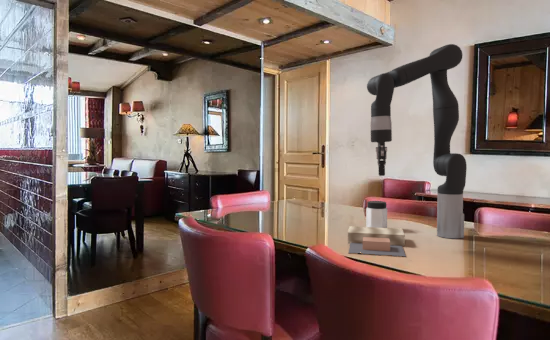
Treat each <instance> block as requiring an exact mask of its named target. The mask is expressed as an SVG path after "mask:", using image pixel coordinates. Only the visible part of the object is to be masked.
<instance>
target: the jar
mask: <svg viewBox="0 0 550 340" xmlns="http://www.w3.org/2000/svg"><path fill="white" fill-rule="evenodd" d="M366 202H367V203H366V204H367V207H366V209H365V210H366V213H365V216H366V217H365V218H366V219H365V220H366V221H365V222H366V223H365V224H366V225H365V227H377V228H388V207H387V202H386V201H385V200H384V201H383V200H368V201H366Z"/></svg>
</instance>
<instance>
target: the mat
mask: <svg viewBox="0 0 550 340" xmlns="http://www.w3.org/2000/svg"><path fill="white" fill-rule="evenodd" d="M403 247H404V246H401V245H390V251H379V250H363V243H349V248H348V254H349V253H360V252H361V253H363V254H362V255H365V254H375V255H374V256H381V255H392V256H391V257H397V256H404V257H403V258H407V256H406V253H405V250H404V248H403Z"/></svg>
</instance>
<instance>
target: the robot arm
mask: <svg viewBox="0 0 550 340" xmlns="http://www.w3.org/2000/svg"><path fill="white" fill-rule="evenodd" d="M461 61H463V51H462V49H461V47H460V46H458V44H454V43H453V44H452V43H450V44H445V45H443V46H440V47H438V48H435V49H433V50H432V51H431V52H430V53H429V55H428V56H426V57H423V58H421V59H420V58H419V59H417V60H414V61H412V62H409V63H405V64H403V65H401V66H398V67H396V68H393V69H392V70H390V71H388V72H385V73H381V74H378V75H376V76H373V77H370V79H369V80H368V81H367V84H366V89H367V92H368V93H369V94H370V95H371V96H372V95H373V96H376V97H375V99H374V101H373V102H372V103H371V105H370V143H377V147H375V152H376V159H377V166H378V176H379V177H382V176H383V177H384V176H385V175H386V167H385V166H386V163H387V161H386V160H387V152H388V147H387V146H386V143H389V142H392V141H393V134H392V133H393V131H392V129H393V127H392V123H393V122H392V117H391V116H392V115H391V104H392V101H393V96H394V91H395V88H398V87H403V86H405V85H408V84H410V83H412V82H415V81H417V80H419V79H421V78H423V77H425V76H427V75H430V83H431V92H432V93H431V95H432V112H433V113H432V114H433V115H432V117H433V118H432V119H433V131H434V132H433V136H434V137H433V138H434V140H433V141H434V142H433V143H434V145H433V161H432V165H433V170H434V172H435V173H436V175H438V176H440V177H445V181H444V183H442V184H440V185H438V186H437V195H436V196H437V198H436V199H437V202H436V203H437V204H436V206H437V207H436V208H437V209H436V212H437V213H436V236H438V237H439V238H440V237H441V238H446V239H465V213H464V211H463V209H464V189H465V187H466V182H467V180H466V179H467V160H466V157H464V155H463V154H460V153H456V152H455V153H452V152H451V142H452V141H451V140H452V137H453V135H454V132H455V130H456V128H457V126H458V123H459V120H460V110H459V109H460V107H459V101H458V98H457V96H456V95H455V94H454V92H453V90H452V89H451V87H450V85H449V81H448V71H449V70H452V69H454V68H456V67H458V65H460V63H461Z"/></svg>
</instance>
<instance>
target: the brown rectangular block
mask: <svg viewBox="0 0 550 340" xmlns="http://www.w3.org/2000/svg"><path fill="white" fill-rule="evenodd" d="M363 250H379V251H390V240H389V238H372V237H363Z"/></svg>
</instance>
